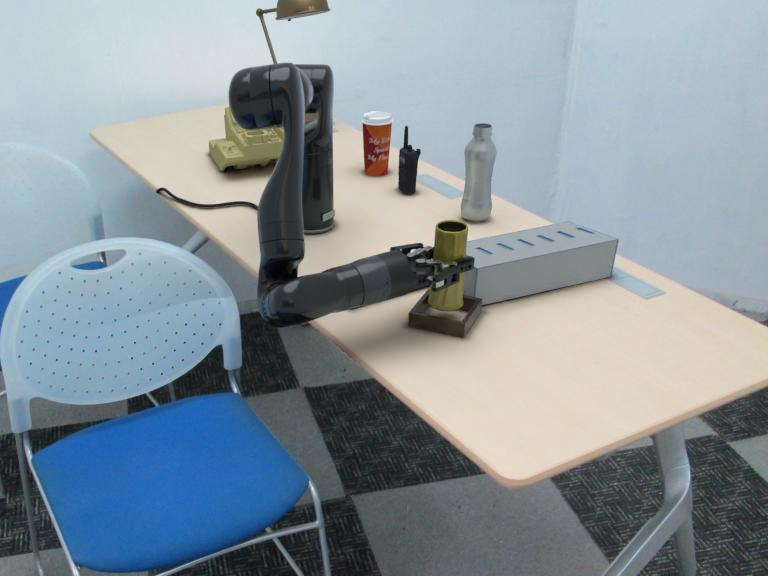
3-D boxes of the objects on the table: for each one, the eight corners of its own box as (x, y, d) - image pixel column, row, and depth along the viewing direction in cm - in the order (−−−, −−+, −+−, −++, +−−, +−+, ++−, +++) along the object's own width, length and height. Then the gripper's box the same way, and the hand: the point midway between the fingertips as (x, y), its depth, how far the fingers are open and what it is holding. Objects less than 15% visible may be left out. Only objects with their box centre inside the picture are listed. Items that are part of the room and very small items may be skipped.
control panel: (198, 101, 218) (272, 84, 222) (207, 157, 229) (278, 140, 233) (223, 142, 202) (303, 124, 205) (231, 200, 213) (307, 182, 216)
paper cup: (370, 180, 207) (371, 121, 199) (354, 170, 213) (355, 113, 205) (398, 173, 210) (400, 116, 202) (381, 165, 216) (382, 108, 208)
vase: (424, 296, 150) (429, 219, 142) (458, 294, 151) (465, 217, 143) (431, 313, 145) (437, 234, 137) (467, 310, 146) (475, 232, 138)
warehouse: (564, 247, 172) (570, 212, 168) (611, 276, 161) (618, 239, 156) (433, 275, 163) (435, 237, 159) (473, 307, 152) (477, 268, 148)
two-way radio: (395, 188, 202) (397, 124, 193) (412, 186, 203) (415, 122, 194) (405, 196, 197) (407, 131, 189) (422, 193, 199) (426, 128, 190)
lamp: (294, 136, 237) (289, -11, 216) (241, 108, 261) (232, -26, 240) (341, 127, 242) (340, -17, 221) (284, 100, 267) (279, -32, 246)
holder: (407, 326, 148) (408, 312, 146) (427, 301, 155) (428, 288, 154) (463, 337, 144) (464, 324, 143) (481, 311, 151) (482, 298, 150)
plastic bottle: (490, 225, 182) (500, 131, 171) (458, 223, 184) (465, 130, 172) (491, 213, 188) (500, 121, 176) (460, 212, 189) (467, 120, 177)
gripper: (403, 274, 130) (491, 250, 137) (354, 241, 141) (438, 220, 147) (400, 318, 135) (486, 292, 141) (353, 282, 145) (435, 260, 152)
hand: (461, 255), depth 144 cm, fingers closed on vase, 5 cm apart
